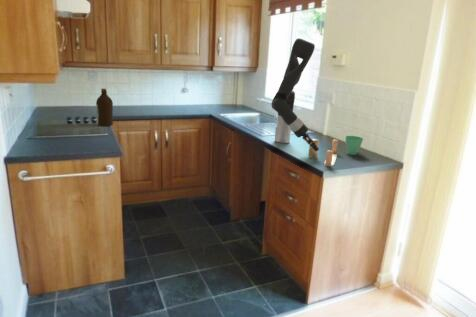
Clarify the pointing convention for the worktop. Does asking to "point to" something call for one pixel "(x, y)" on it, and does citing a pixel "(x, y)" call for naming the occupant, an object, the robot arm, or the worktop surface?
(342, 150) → the worktop surface
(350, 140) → the mug
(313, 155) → the brown upright block
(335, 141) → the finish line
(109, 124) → the olive oil
